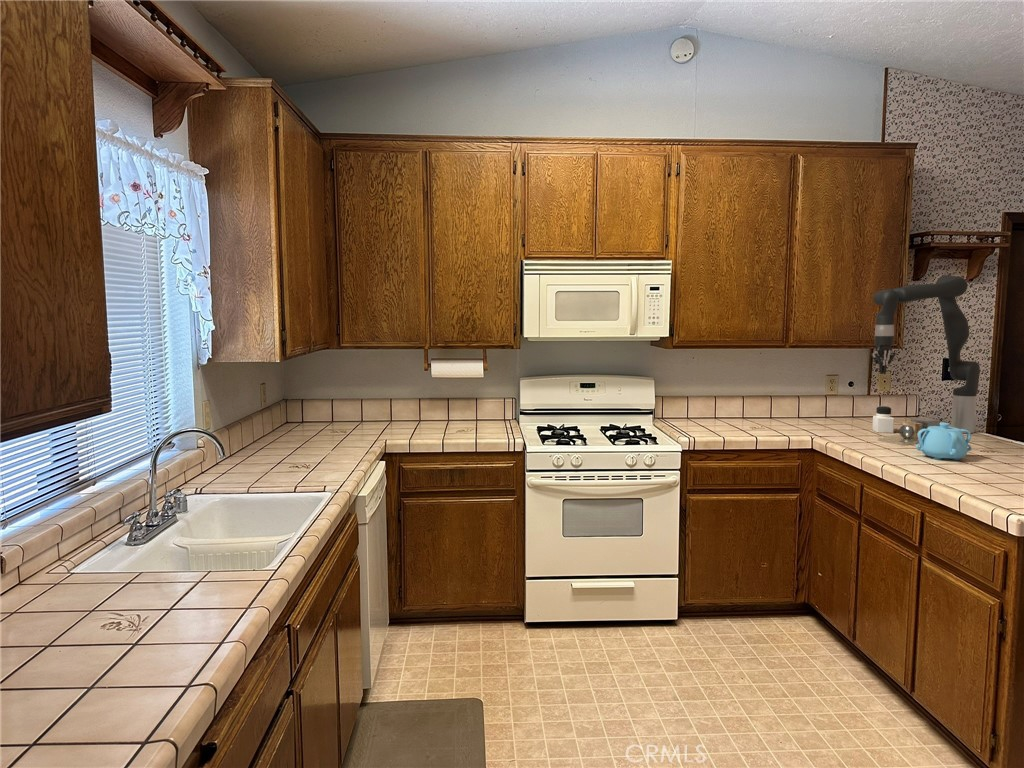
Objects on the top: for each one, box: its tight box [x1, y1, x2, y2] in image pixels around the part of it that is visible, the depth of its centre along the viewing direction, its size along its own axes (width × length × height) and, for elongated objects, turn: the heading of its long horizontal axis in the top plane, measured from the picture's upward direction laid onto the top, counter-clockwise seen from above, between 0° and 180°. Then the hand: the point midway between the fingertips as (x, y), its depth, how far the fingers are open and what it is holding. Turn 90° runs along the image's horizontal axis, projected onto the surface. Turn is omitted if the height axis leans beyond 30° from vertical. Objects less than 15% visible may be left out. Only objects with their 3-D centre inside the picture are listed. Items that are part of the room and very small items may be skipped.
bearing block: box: [877, 417, 941, 446], centre depth 293 cm, size 26×12×9 cm, turn 111°
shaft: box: [899, 424, 923, 438], centre depth 295 cm, size 18×6×6 cm, turn 112°
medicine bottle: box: [872, 405, 895, 434], centre depth 315 cm, size 7×7×12 cm
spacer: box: [902, 421, 922, 439], centre depth 293 cm, size 4×6×7 cm
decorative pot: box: [915, 422, 972, 461], centre depth 259 cm, size 16×16×14 cm
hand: (882, 373), depth 299 cm, fingers closed
